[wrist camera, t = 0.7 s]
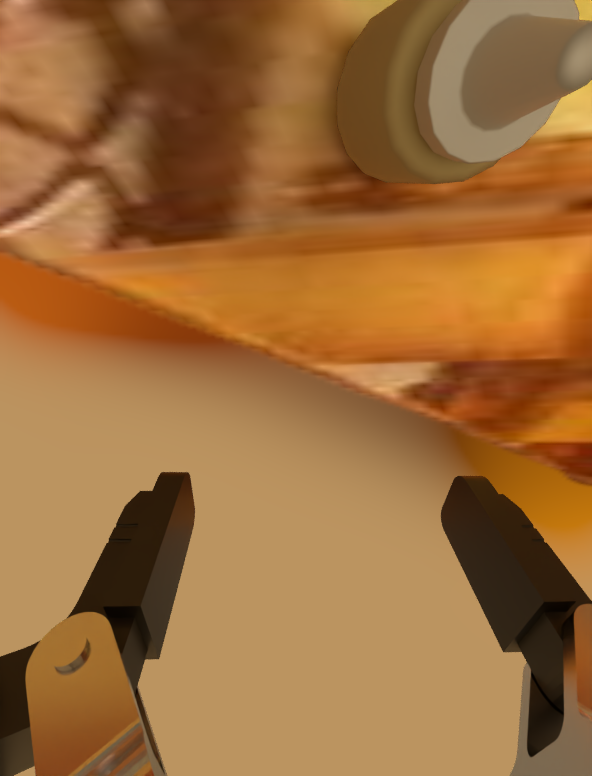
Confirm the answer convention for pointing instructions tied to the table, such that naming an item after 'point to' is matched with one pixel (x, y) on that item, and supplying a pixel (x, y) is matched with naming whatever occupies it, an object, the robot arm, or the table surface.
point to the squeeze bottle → (457, 84)
